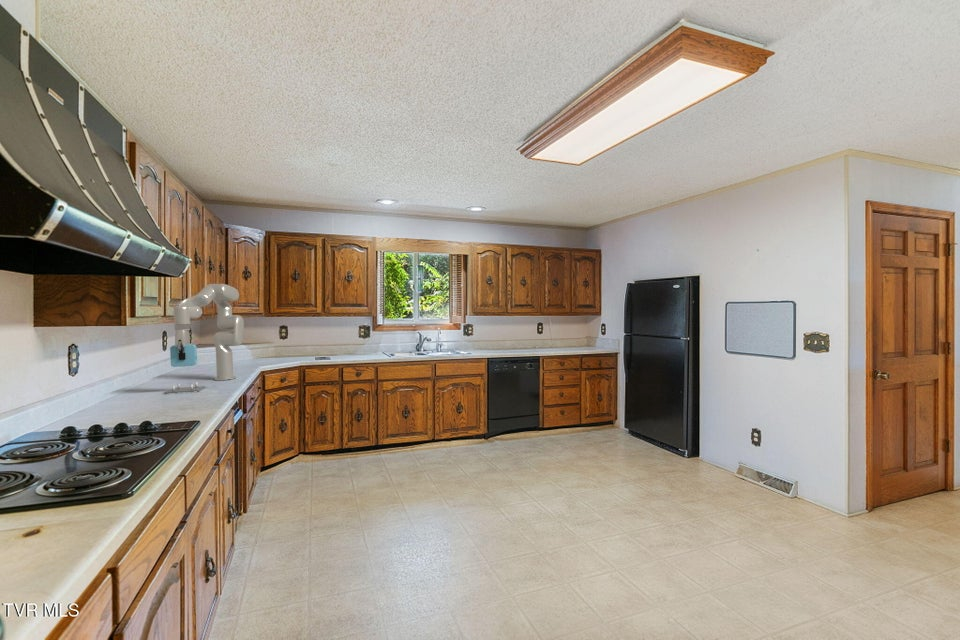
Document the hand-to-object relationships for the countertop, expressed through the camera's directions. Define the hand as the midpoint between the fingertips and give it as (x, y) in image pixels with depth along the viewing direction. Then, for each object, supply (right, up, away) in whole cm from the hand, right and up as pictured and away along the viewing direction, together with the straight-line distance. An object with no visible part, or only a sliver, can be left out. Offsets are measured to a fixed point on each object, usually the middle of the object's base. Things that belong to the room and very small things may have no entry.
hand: (183, 359), depth 260 cm
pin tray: (0, -18, +1) cm, 18 cm away
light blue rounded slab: (0, -4, 0) cm, 4 cm away
